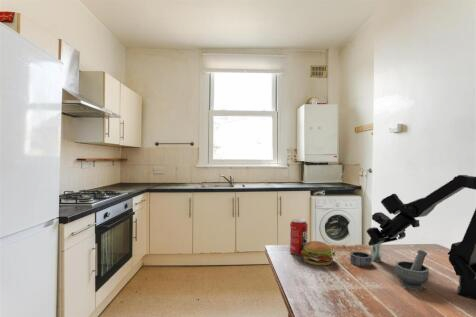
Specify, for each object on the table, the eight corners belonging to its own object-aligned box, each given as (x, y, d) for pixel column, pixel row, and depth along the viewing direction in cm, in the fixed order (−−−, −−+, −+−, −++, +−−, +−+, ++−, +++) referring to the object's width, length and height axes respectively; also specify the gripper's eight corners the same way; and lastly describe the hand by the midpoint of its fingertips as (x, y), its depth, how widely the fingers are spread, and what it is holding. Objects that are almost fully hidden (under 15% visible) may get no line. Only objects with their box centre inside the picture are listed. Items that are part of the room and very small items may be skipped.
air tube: (380, 262, 115) (380, 233, 115) (369, 260, 118) (370, 231, 118) (382, 260, 118) (382, 231, 118) (372, 258, 121) (372, 229, 121)
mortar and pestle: (414, 295, 87) (414, 257, 88) (388, 282, 96) (389, 248, 96) (438, 289, 91) (438, 253, 91) (411, 278, 100) (412, 245, 100)
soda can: (286, 251, 128) (287, 218, 128) (301, 249, 130) (302, 218, 130) (294, 256, 120) (295, 222, 120) (310, 255, 123) (311, 221, 123)
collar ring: (368, 268, 109) (368, 259, 109) (347, 263, 114) (347, 254, 114) (373, 262, 115) (373, 254, 115) (353, 258, 120) (353, 250, 120)
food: (331, 270, 106) (332, 249, 106) (296, 262, 114) (297, 243, 114) (339, 259, 118) (339, 241, 118) (307, 253, 125) (307, 236, 125)
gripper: (398, 205, 119) (375, 225, 129) (371, 208, 110) (347, 229, 120) (417, 228, 112) (391, 247, 122) (389, 233, 103) (363, 253, 113)
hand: (373, 243), depth 119 cm, fingers open, 5 cm apart
